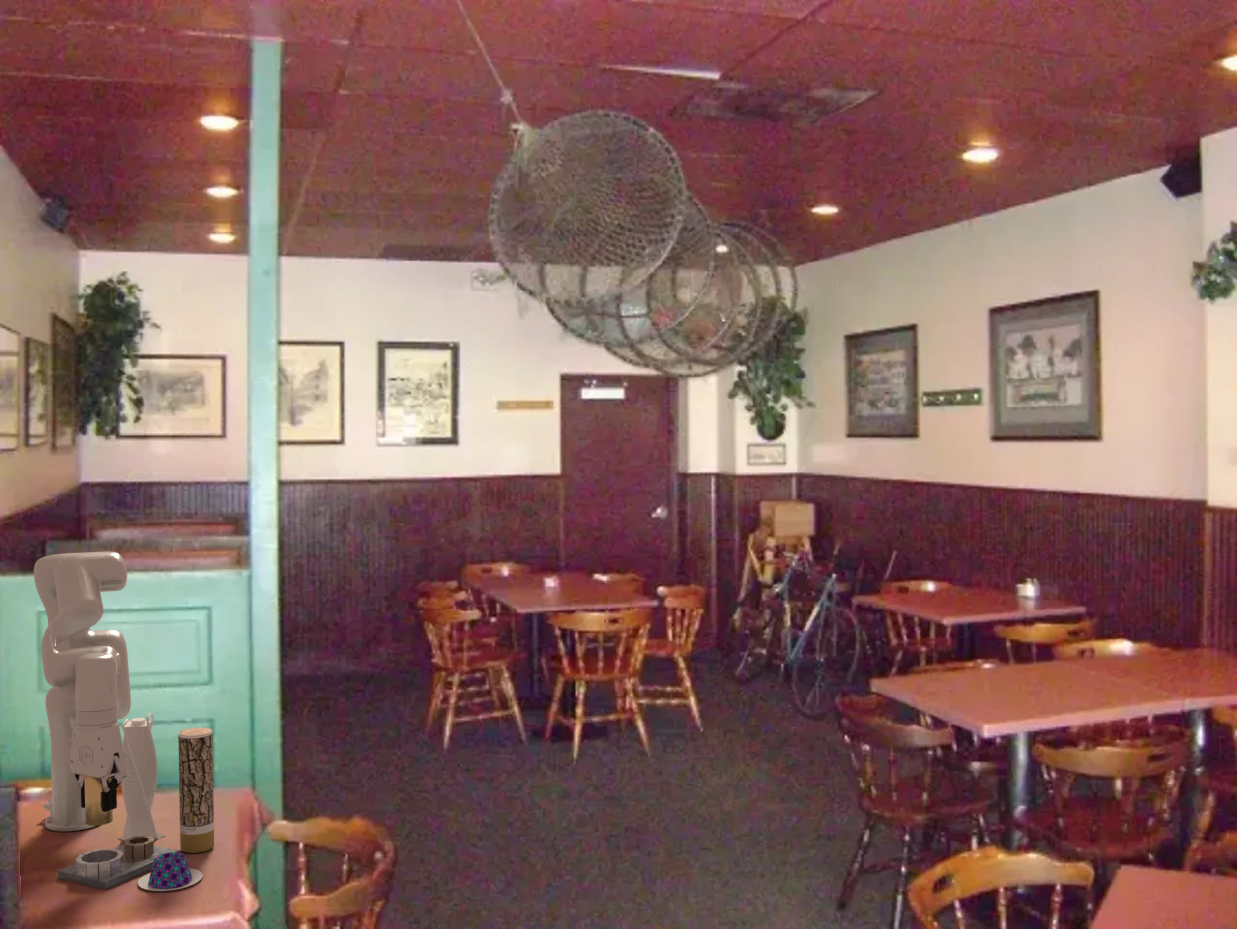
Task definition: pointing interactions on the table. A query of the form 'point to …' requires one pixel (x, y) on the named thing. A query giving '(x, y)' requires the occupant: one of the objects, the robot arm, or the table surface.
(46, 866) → the table surface
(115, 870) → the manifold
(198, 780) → the paper tube
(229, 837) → the table surface
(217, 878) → the table surface
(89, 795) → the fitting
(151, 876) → the pudding
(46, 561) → the robot arm
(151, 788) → the skyscraper
